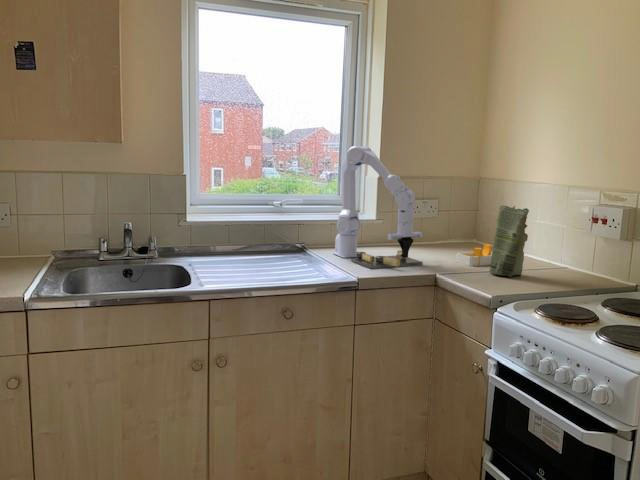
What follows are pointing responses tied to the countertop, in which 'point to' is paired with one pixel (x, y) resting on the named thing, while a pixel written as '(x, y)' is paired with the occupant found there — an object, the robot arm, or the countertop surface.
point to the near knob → (387, 261)
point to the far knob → (399, 255)
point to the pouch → (509, 242)
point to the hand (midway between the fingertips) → (404, 257)
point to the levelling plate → (375, 265)
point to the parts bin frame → (473, 259)
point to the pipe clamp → (479, 252)
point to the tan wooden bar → (365, 256)
